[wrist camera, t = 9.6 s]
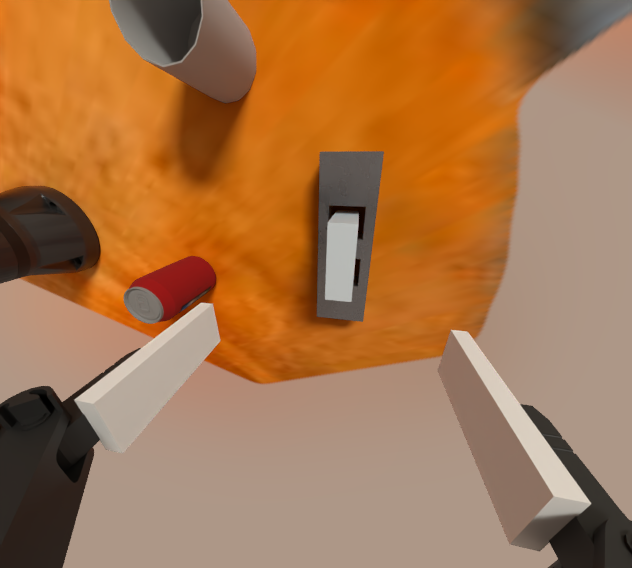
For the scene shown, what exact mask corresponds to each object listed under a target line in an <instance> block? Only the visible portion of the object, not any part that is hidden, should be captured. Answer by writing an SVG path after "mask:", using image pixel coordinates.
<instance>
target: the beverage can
mask: <svg viewBox="0 0 632 568" xmlns="http://www.w3.org/2000/svg"><path fill="white" fill-rule="evenodd" d="M215 282H216V276H215V272H214V270H213V268H212V267H211V266H210V264H209V263H208V262H206V261H205V260H204V259H202V258H200V257H196V256H190V257H187V258H184V259H182V260H179V261H177V262H175V263H172V264H170V265H168V266H165V267H163V268H161V269H159V270H156V271H154V272H152V273H150V274H147V275H145V276H143V277H141V278H139V279H137V280H135V281H134V282H133V283H132V285H131V286H130V288H129V289H128V290H127V291H126V292H125V294H124V303H125V305H126V308H127V309H128V311H129V312H130V313H131V314H132V315H133V316H134V317H135V318H137V319H138V320H140V321H142V322H145V323H149V324H153V323H156V322H161V321H167V320H169V319H171V318H173V317H174V316H175V315H177V314H178V313H180V312H181V311H182V310H184V309H185V308H187V307H188V306H189V305H191V304H192V303H193V302H195V301H196V300H198V299H199V298H200V297H202V296H203V295H204V294H206V293H207V292H208V291H210V290H211V289H212V288H213V287H214V285H215Z"/></svg>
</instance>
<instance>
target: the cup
mask: <svg viewBox="0 0 632 568" xmlns="http://www.w3.org/2000/svg"><path fill="white" fill-rule="evenodd" d="M109 2H110V7H111V12H112V14H113V16H114V18H115V20H116V22H117V24H118V26H119V28H120V30H121V32H122V34H123V36H124V38H125V40H126V41H127V42H128V43H129V44H130V45H131V47H132V48H133V49H134V50H135V51H136V52H137V53H138V54H139V55H140V56H141V57H142V58H143V59H144V60H146V61H147V62H149V63H151V64H153V65H154V66H156V67H158V68H160V69H162V70H163V71H165V72H167V73H169V74H170V75H172V76H174V77H176V78H178V79H179V80H181V81H183V82H185V83H186V84H188V85H190V86H192V87H193V88H195V89H197V90H199V91H201V92H202V93H204V94H206V95H208V96H209V97H211V98H213V99H216V100H218V101H221V102H223V103H229V102H234V101H239V100H240V99H241V98H242V97H243V96H244V95H245V94H246V93H247V92H248V91H249V90H250V88H251V85H252V82H253V79H254V77H255V74H256V49H255V46H254V43H253V40H252V37H251V34H250V31H249V29H248V28H247V26H246V25H245V23H244V22H243V21H242V19H241V18H240V17H239V15H238V14H237V13H236V11H235V10H234V8H233V7H232V6H231V4H230V3H229V2H228V0H109Z"/></svg>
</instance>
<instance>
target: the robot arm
mask: <svg viewBox="0 0 632 568" xmlns="http://www.w3.org/2000/svg"><path fill="white" fill-rule="evenodd" d="M99 253H100V248H99V241H98V238H97V235H96V232H95V230H94V228H93V226H92V224H91V222H90V221H89V219H88V218H87V216H86V215H85V213H84V212H83V211H82V210H81V209H80V208H79V207H78V206H77V205H76V204H75V203H74V202H73V201H72V200H71V199H70V198H68V197H67V196H66V195H64V194H63V193H61V192H59V191H57V190H55V189H53V188H50V187H45V186H24V187H18V188H14V189H11V190H8V191H5V192H2V193H0V283H4V282H7V281H11V280H14V279H17V278H21V277H25V276H29V275H44V274H62V273H74V272H79V271H82V270H85V269H88V268H90V267H92V266H94V265H95V263H96V262H97V260H98V258H99ZM219 342H220V337H219V332H218V327H217V322H216V317H215V312H214V308H213V304H210V303H200V304H198V305H197V306H196V307H195V308H193V309H192V310H191V311H189V312H188V313H187V314H185V315H184V316H183V317H181V318H180V319H179V320H178V321H176V322H175V323H174V324H172V325H171V326H170V327H168V328H167V329H166V330H165V331H163V332H162V333H161V334H159V335H158V336H157V337H155V338H154V339H153V340H152V341H150V342H149V343H148V344H146V345H145V346H144V347H142V348H139V349H137V350H135V351H133V352H131V353H129V354H127V355H125V356H124V357H123V358H121V359H120V360H119V361H118V362H116V363H115V364H114V365H112V366H111V367H109V368H108V369H107V370H105V372H104V373H101V374H100V375H99V376H97V377H96V378H94V379H93V380H92V381H90V382H89V383H88V384H86V385H85V386H84V387H82V388H81V389H80V390H79V391H77V392H76V393H74V394H73V395H72V396H70V397H69V398H68V399H66V400H65V401H63V402H61V400H60V399H59V398H58V396H57V395H56V393H55V392H54V390H53V389H52V388H51V387H49V386H41V387H35V388H31V389H29V390H26V391H23V392H21V393H19V394H17V395H15V396H13V397H11V398H9V399H7V400H6V401H4V402H3V403H1V404H0V568H62V567H63V564H64V560H65V557H66V553H67V550H68V546H69V542H70V539H71V535H72V532H73V528H74V525H75V521H76V517H77V514H78V510H79V507H80V503H81V500H82V496H83V492H84V489H85V485H86V482H87V478H88V474H89V471H90V467H91V464H92V460H93V456H94V449H93V446H94V445H95V444H96V443H97V442H98V441H99V440H100V441H101V443H102V444H103V446H104V447H105V449H106V450H110V451H115V452H119V453H124V452H125V450H126V449H127V448H128V447H129V446H130V444H131V443H132V442H133V441H134V440H135V439H136V438H137V437H138V435H139V434H140V433H141V432H142V431H143V430H144V428H145V427H146V426H147V425H148V424H149V423H150V422H151V420H152V419H153V418H154V417H155V416H156V415H157V413H158V412H159V411H160V410H161V409H162V408H163V407H164V405H165V404H166V403H167V402H168V401H169V399H170V398H171V397H172V396H173V395H174V394H175V393H176V392H177V390H178V389H179V388H180V387H181V386H182V385H183V384H184V382H185V381H186V380H187V379H188V378H189V377H190V375H191V374H192V373H193V372H194V371H195V370H196V369H197V367H198V366H199V365H200V364H201V362H203V360H204V359H205V358H206V357H207V356H208V355H209V354H210V352H211V351H212V350H213V349H214V348H215V347H216V345H217V344H218V343H219ZM438 373H439V375H440V377H441V380H442V382H443V385H444V387H445V389H446V392H447V394H448V397H449V399H450V402H451V404H452V406H453V409H454V411H455V414H456V416H457V418H458V421H459V423H460V425H461V428H462V430H463V433H464V435H465V438H466V440H467V442H468V445H469V447H470V450H471V452H472V455H473V457H474V459H475V462H476V464H477V467H478V469H479V471H480V474H481V476H482V479H483V481H484V484H485V486H486V488H487V491H488V493H489V495H490V498H491V500H492V503H493V505H494V508H495V510H496V513H497V515H498V517H499V520H500V522H501V525H502V527H503V529H504V532H505V534H506V537H507V539H508V541H509V544H511V545H515V546H519V547H523V548H528V549H532V550H537V551H540V550H542V549H543V548H544V547H545V546H546V545H547V544H548V543H549V542H550V544H551V546H552V548H553V550H554V552H555V553H556V555H557V557H558V560H557V561H556V562H554V563H553V564H552V565H551V566H549V567H548V568H632V521H630V520H629V519H628V518H627V517H626V516H625V515H624V514H623V513H622V511H621V510H620V509H619V508H618V507H617V505H616V504H615V503H614V501H613V500H612V499H611V498H610V496H609V495H608V494H607V493H606V491H605V490H604V489H603V488H602V486H601V485H600V484H599V482H598V481H597V480H596V479H595V478H594V476H593V475H592V474H591V473H590V471H589V470H588V469H587V467H586V466H585V465H584V464H583V462H582V461H581V460H580V459H579V457H578V456H577V455H576V454H574V453H573V450H572V449H571V447H570V446H569V445H568V443H567V442H566V441H565V440H563V439H562V436H561V435H560V433H559V432H558V431H557V430H556V428H555V427H554V426H553V425H552V423H551V422H550V421H549V420H548V419H547V418H546V417H545V416H543V415H542V414H541V413H540V412H539V411H537V410H536V409H535V408H534V407H533V406H529V405H522V404H519V402H518V401H517V400H516V398H515V397H514V395H513V394H512V393H511V391H510V390H509V389H508V387H507V386H506V384H505V383H504V382H503V380H502V379H501V377H500V376H499V375H498V373H497V372H496V370H495V369H494V368H493V366H492V365H491V364H490V362H489V361H488V359H487V358H486V357H485V355H484V354H483V352H482V351H481V350H480V348H479V347H478V346H477V344H476V343H475V341H474V340H473V339H472V337H471V336H470V334H469V333H468V332H466V331H457V330H451V331H450V334H449V338H448V341H447V344H446V347H445V350H444V353H443V356H442V359H441V362H440V365H439V368H438Z"/></svg>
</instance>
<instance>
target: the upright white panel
mask: <svg viewBox="0 0 632 568" xmlns="http://www.w3.org/2000/svg"><path fill="white" fill-rule="evenodd" d="M358 225H359V211H346V210H337V211H336V212H335V214H334V215H333V216H332V218H331V219H330V220H329V221H328V226H327V255H326V283H325V300H335V301H345V302H351V301H352V290H353V279H354V268H355V258H356V247H357V236H358Z"/></svg>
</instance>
